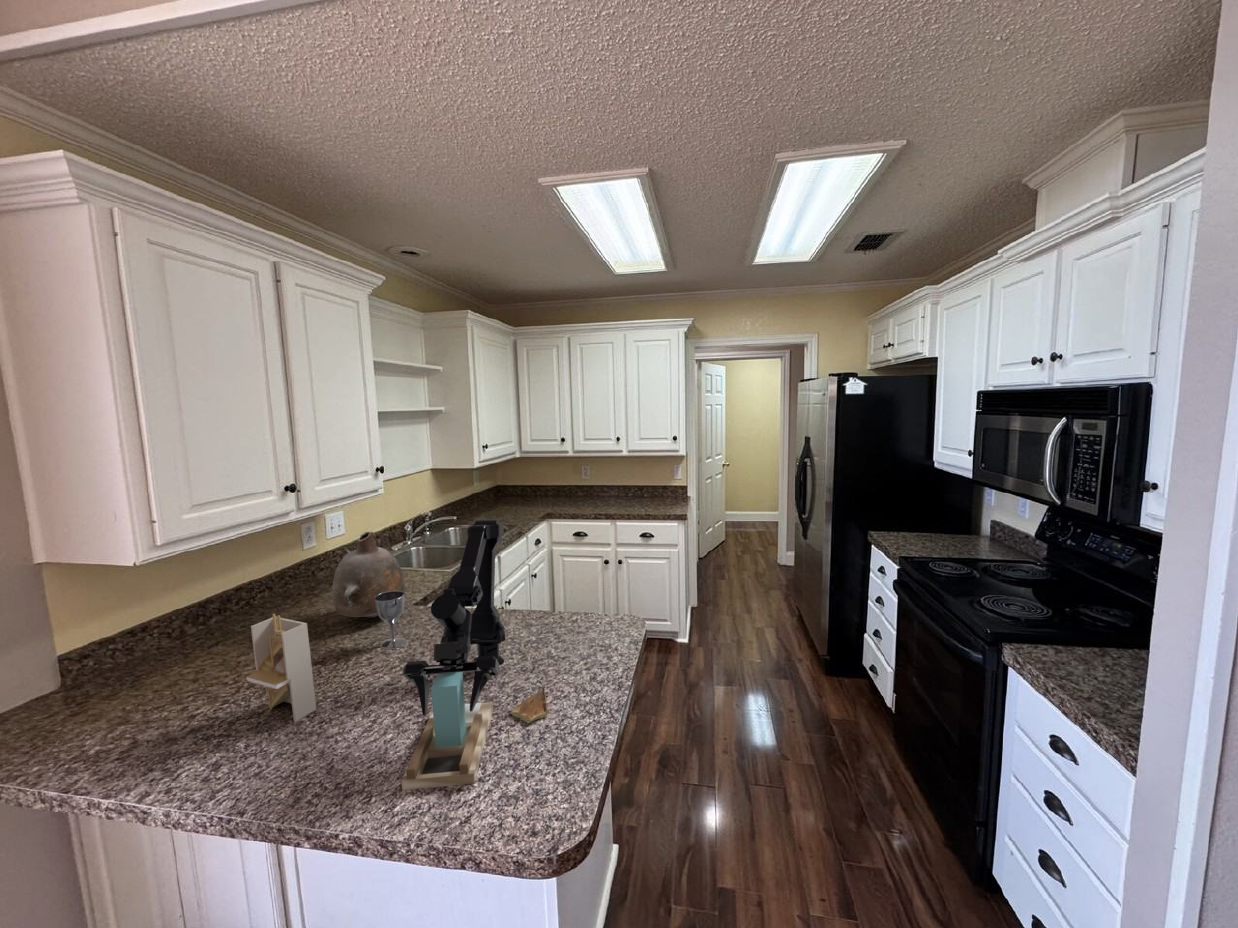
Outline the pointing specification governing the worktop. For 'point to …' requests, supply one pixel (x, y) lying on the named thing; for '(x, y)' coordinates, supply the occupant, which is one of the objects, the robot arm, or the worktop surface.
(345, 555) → the jug
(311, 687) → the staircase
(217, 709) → the worktop surface
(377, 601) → the wine glass
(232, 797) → the worktop surface
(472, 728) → the beige tray
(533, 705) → the shard
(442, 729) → the tall block
